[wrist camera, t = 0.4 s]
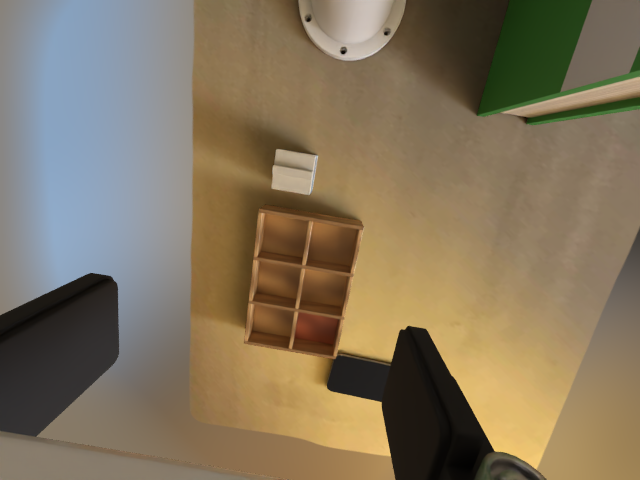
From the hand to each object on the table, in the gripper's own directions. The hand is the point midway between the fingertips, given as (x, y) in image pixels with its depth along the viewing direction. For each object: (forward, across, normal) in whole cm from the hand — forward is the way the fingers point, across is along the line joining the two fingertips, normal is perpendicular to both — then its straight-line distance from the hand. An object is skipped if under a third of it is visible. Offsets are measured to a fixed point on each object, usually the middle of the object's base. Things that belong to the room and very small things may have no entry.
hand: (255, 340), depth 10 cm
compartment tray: (+34, 0, +12) cm, 37 cm away
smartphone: (+35, -14, +28) cm, 47 cm away
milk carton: (+34, +3, -4) cm, 35 cm away
